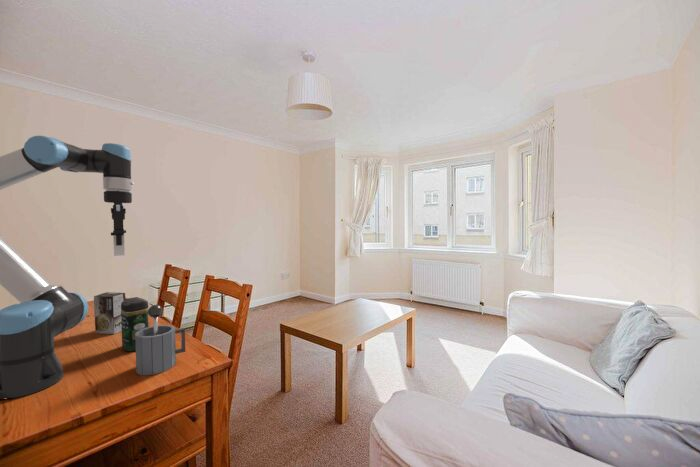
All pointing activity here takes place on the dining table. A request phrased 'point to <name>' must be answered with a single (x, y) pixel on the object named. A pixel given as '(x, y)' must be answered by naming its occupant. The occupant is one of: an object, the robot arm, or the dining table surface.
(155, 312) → the plunger
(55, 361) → the robot arm
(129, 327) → the coffee jar
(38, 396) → the dining table surface
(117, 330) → the coffee box
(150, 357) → the grey ribbed mug
